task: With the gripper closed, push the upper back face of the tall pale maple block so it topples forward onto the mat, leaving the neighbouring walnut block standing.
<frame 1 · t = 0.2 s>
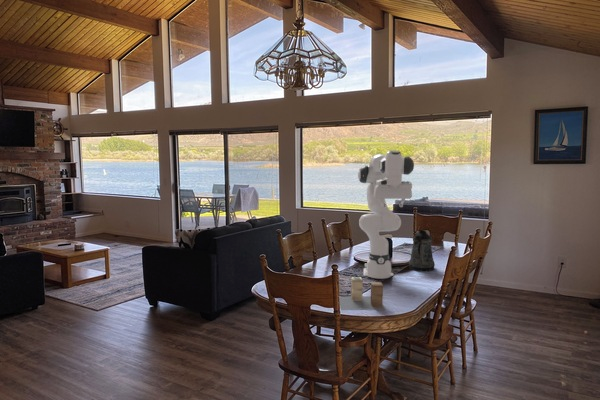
hand: (392, 206, 235), 47 cm above the table, fingers open, 8 cm apart
walnut block: (376, 305, 219), resting on mat
maple block: (356, 299, 228), resting on mat
beer stein: (421, 269, 287), on the table
mat: (360, 303, 222), on the table
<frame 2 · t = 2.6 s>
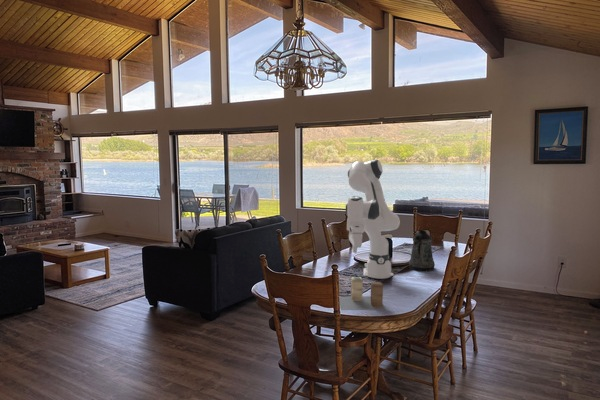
hand: (354, 252, 234), 23 cm above the table, fingers closed
nothing on the table moved.
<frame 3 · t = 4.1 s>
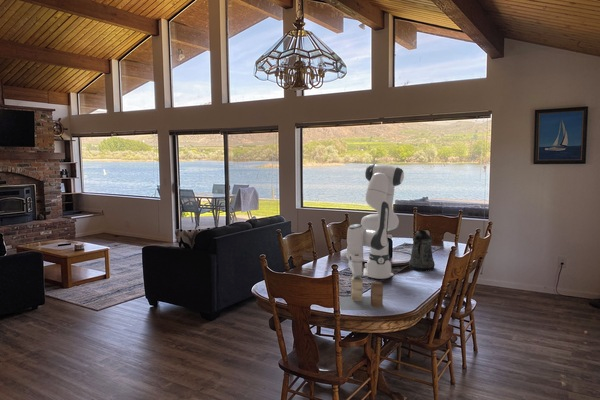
hand: (354, 279, 235), 8 cm above the table, fingers closed
nothing on the table moved.
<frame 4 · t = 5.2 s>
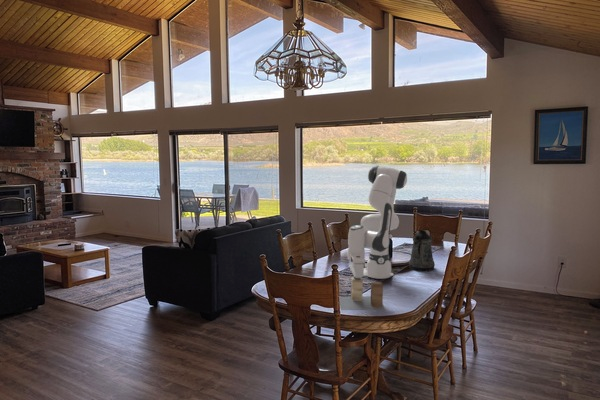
hand: (355, 281, 231), 8 cm above the table, fingers closed
maple block: (356, 298, 228), resting on mat, touching gripper
everything else where it was.
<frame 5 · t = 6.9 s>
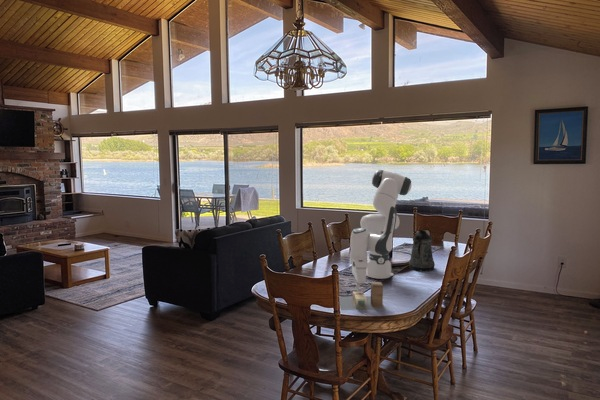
hand: (357, 286, 224), 8 cm above the table, fingers closed
maple block: (357, 296, 225), point 3 cm above the table, tilted 90°, touching mat
everything else where it was.
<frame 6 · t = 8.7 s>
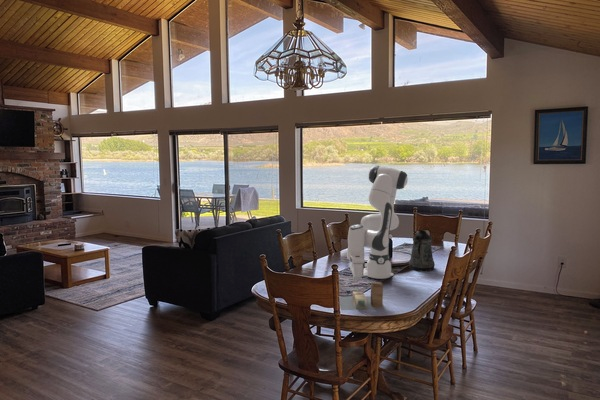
hand: (355, 281, 230), 9 cm above the table, fingers closed
nothing on the table moved.
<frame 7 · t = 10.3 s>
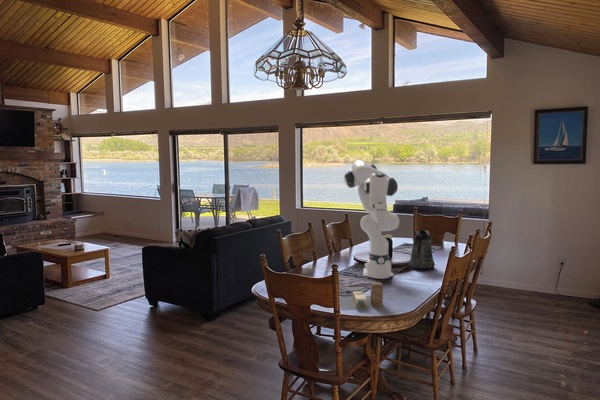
hand: (376, 229, 234), 36 cm above the table, fingers closed
nothing on the table moved.
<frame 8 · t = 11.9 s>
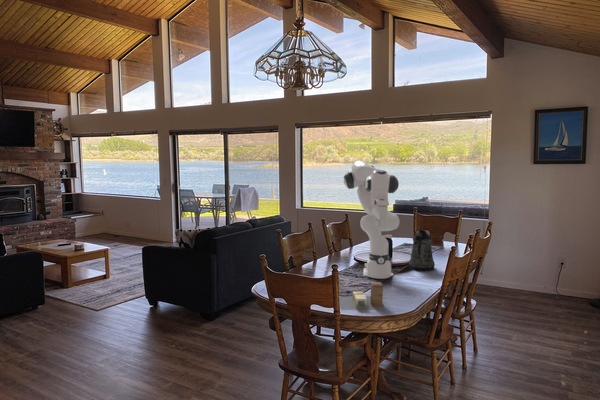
hand: (378, 226, 235), 37 cm above the table, fingers closed
nothing on the table moved.
at the end: maple block tilted 90°; maple block inside the target area on the mat (3.8 cm from its centre), point 2.9 cm above the mat's base; walnut block moved 0.0 cm from its start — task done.
